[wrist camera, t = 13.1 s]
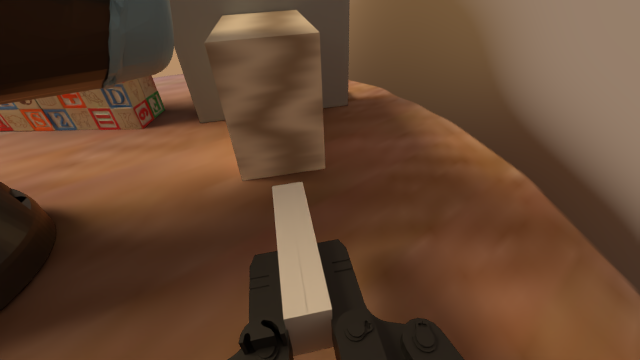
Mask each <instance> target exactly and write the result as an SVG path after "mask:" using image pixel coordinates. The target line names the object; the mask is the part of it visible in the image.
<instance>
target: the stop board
mask: <svg viewBox="0 0 640 360" xmlns="http://www.w3.org/2000/svg"><path fill="white" fill-rule="evenodd" d="M169 1H170V7H171V14H172V22H173V34H174V47H175V50H176V53H177V56H178V59H179V62H180V65H181V68H182V70H183V74H184V77H185V80H186V82H187V85H188V88H189V91H190V94H191V97H192V100H193V103H194V106H195V109H196V112H197V115H198V118H199V121H200V123H205V122H213V121H221V120H225V116H224V113H223V109H222V105H221V102H220V98H219V95H218V91H217V87H216V84H215V80H214V76H213V73H212V69H211V66H210V62H209V58H208V55H207V51H206V47H205V44H204V42H205V41H206V39H207V38H208V36H209V35H210V33H211V32H212V30H213V29H214V27H215V26H216V24H217V23H218V21H219V20H220V18H221V17H222V15H234V14H247V13H260V12H273V11H286V10H297V11H298V12H299V13H300V14H301V15H302V16H303V17H304V18H305V19H306V20H307V21H308V22H309V23H310V24H312V25H313V26H314V27H315V28H316V29H317V30H318V31H319V32H320V53H321V76H322V100H323V108H328V107H336V106H344V105H348V61H349V0H169Z"/></svg>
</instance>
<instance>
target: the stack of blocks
mask: <svg viewBox="0 0 640 360" xmlns="http://www.w3.org/2000/svg"><path fill="white" fill-rule="evenodd" d="M164 110H165V108H164V106H163V103H162V100H161V98H160V95H159V93H158V91H157V89H156V86H155V83H154V81H153V78H152V76H146V77H142V78H138V79H134V80H130V81H126V82H121V83H117V84H116V85H115V86H114V87H112V88H109V89H95V90H89V91H83V92H76V93H70V94H64V95H58V96H51V97H45V98H39V99H33V100H26V101H20V102H14V103H8V104H2V105H0V131H35V130H36V131H55V130H97V129H99V130H112V129H143V128H145V127H146V126H147V125H148V124H149V123H150V122H152V121H153V120H154V119H155V118H156V117H157V116H158V115H159V114H161V113H162V112H163V111H164Z"/></svg>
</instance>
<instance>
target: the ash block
mask: <svg viewBox="0 0 640 360" xmlns="http://www.w3.org/2000/svg"><path fill="white" fill-rule="evenodd" d="M204 44H205V47H206V51H207V55H208V58H209V62H210V66H211V69H212V73H213V76H214V80H215V84H216V87H217V91H218V95H219V98H220V102H221V105H222V109H223V113H224V116H225V120H226V124H227V127H228V131H229V134H230V138H231V142H232V145H233V149H234V152H235V156H236V160H237V163H238V167H239V171H240V174H241V178H242V181H245V180H251V179H258V178H265V177H272V176H278V175H285V174H292V173H299V172H305V171H312V170H319V169H325V147H324V123H323V100H322V76H321V53H320V32H319V31H318V30H317V29H316V28H315V27H314V26H313V25H312V24H310V23H309V22H308V21H307V20H306V19H305V18H304V17H303V16H302V15H301V14H300V13H299V12H298V11H297V10H286V11H273V12H260V13H247V14H234V15H222V17H221V18H220V20H219V21H218V23H217V24H216V26H215V27H214V29H213V30H212V32H211V33H210V35H209V36H208V38H207V39H206V41H205V42H204Z"/></svg>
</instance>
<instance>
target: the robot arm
mask: <svg viewBox="0 0 640 360" xmlns="http://www.w3.org/2000/svg"><path fill="white" fill-rule="evenodd" d="M173 49H174V34H173V22H172V14H171V7H170V1H169V0H0V105H2V104H8V103H14V102H20V101H26V100H33V99H39V98H45V97H51V96H58V95H64V94H70V93H76V92H83V91H89V90H95V89H109V88H112V87H114V86H115V85H116V84H117V83H121V82H126V81H130V80H134V79H138V78H142V77H146V76H151V75H154V74H157V73H159V72H161V71H162V70H163V69H165V68H166V67H167V66H168V64H169V62H170V60H171V58H172V55H173ZM272 192H273V203H274V215H275V226H276V238H277V249H278V251H275V252H269V253H264V254H258V255H255V256H254V258H253V261H252V263H251V265H250V287H249V289H250V291H249V323H248V324H247V325H246V326H245V328H244V330H243V331H242V333H241V335H240V340H239V345H240V347H241V349H240V350H239V351H238V352H237V353H236V354H235V355H234V356H232V357H231V358H229V359H228V360H294V358H293V356H296V355H300V354H304V353H309V352H313V351H317V350H322V349H326V348H330V347H334V350H335V355H336V360H464V359H463V357H462V356H461V355H460V354H459V352H458V351H457V350H456V349H455V347H454V346H453V345H452V343H451V342H450V341H449V340H448V338H447V337H446V336H445V334H444V333H443V332H442V331H441V329H440V328H438V327H437V326H436V325H435V324H434V323H433V322H431V321H429V320H427V319H421V318H416V319H412V320H410V321H409V322H408V323H406V324H400V323H393V322H387V321H383V320H380V319H378V318H376V317H375V316H374V315H372V314H371V313H370V311H369V310H368V309H367V307H366V305H365V303H364V300H363V297H362V294H361V291H360V288H359V285H358V282H357V279H356V276H355V273H354V270H353V267H352V264H351V261H350V258H349V255H348V252H347V249H346V247H345V246H344V245H343V244H342V243H341V242H340V241H339V240H338V239H337V240H332V241H326V242H321V243H317V242H316V238H315V233H314V229H313V225H312V220H311V216H310V212H309V208H308V203H307V199H306V195H305V190H304V186H303V182H297V183H290V184H284V185H277V186H272ZM55 236H56V228H55V224H54V222H53V220H52V219H51V218H50V217H49V216H48V215H47V214H46V212H45V211H44V210H43V209H42V208H41V207H40V206H39V205H38V204H37V203H36V202H35V201H34V200H33V199H32V198H30V197H29V196H28V195H26V194H24V193H22V192H20V191H17V190H14V189H11V188H9V187H8V186H6V185H5V184H3V183H2V182H0V310H1V309H2V308H4V307H5V306H6V305H7V304H8V303H9V302H10V301H11V300H12V299H13V298H14V297H15V296H16V295H17V294H18V293H19V292H20V291H21V290H22V289H23V288H24V287H25V286H26V285H27V284H28V283H29V282H30V280H31V279H32V278H33V277H34V276H35V274H36V273H37V272H38V271H39V269H40V268H41V267H42V265H43V264H44V262H45V261H46V259H47V257H48V255H49V254H50V251H51V249H52V247H53V244H54V241H55Z"/></svg>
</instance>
